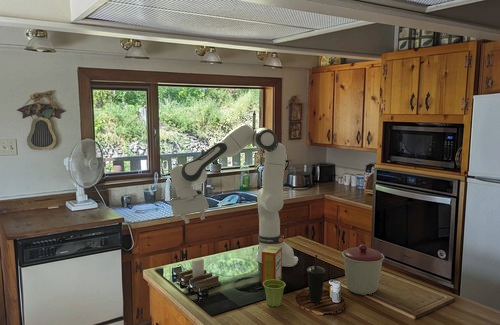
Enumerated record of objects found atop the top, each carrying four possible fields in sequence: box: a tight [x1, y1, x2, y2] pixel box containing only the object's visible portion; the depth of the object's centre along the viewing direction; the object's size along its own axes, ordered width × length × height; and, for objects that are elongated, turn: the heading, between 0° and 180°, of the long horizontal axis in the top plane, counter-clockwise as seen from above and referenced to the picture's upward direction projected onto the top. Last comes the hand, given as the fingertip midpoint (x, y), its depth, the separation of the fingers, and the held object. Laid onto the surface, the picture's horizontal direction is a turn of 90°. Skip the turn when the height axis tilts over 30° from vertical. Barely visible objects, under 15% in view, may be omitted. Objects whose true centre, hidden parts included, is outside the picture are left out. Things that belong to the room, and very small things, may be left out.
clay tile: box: [191, 257, 205, 278], centre depth 193 cm, size 2×5×10 cm, turn 132°
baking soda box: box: [261, 246, 283, 285], centre depth 195 cm, size 10×6×16 cm
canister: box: [341, 243, 385, 296], centre depth 185 cm, size 18×18×21 cm
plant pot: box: [262, 279, 287, 308], centre depth 172 cm, size 9×9×9 cm
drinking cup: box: [306, 254, 326, 303], centre depth 174 cm, size 8×8×20 cm
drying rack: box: [175, 268, 222, 292], centre depth 193 cm, size 16×14×4 cm
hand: (195, 221), depth 207 cm, fingers open, 8 cm apart
